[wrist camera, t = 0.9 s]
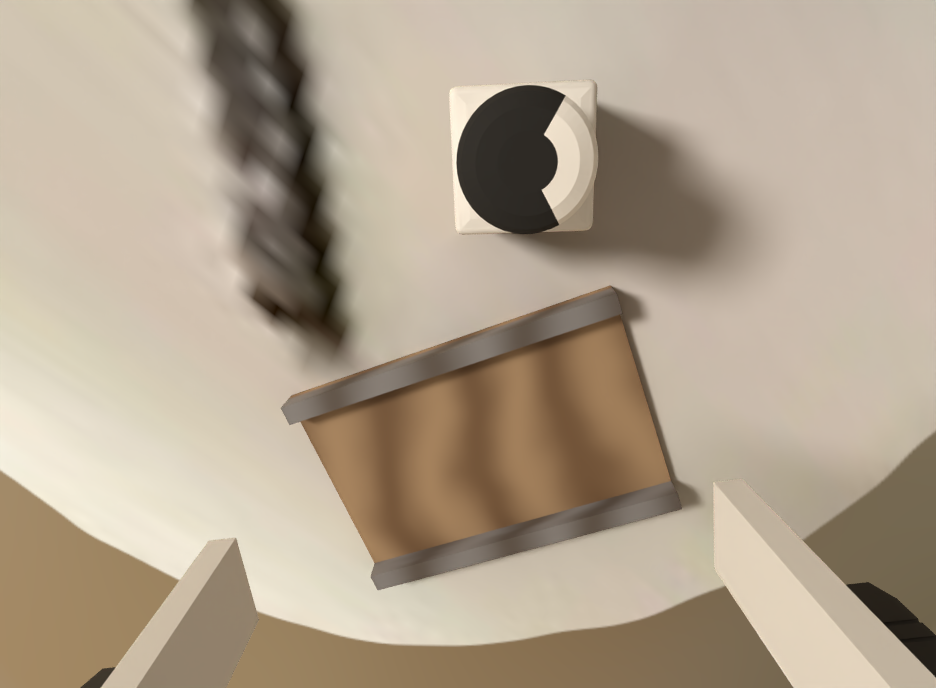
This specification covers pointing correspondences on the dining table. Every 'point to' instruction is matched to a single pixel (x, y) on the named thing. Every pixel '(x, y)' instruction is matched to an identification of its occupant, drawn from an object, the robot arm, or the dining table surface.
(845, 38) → the dining table surface
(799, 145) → the dining table surface
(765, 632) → the robot arm
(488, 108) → the medicine bottle
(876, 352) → the dining table surface
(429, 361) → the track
